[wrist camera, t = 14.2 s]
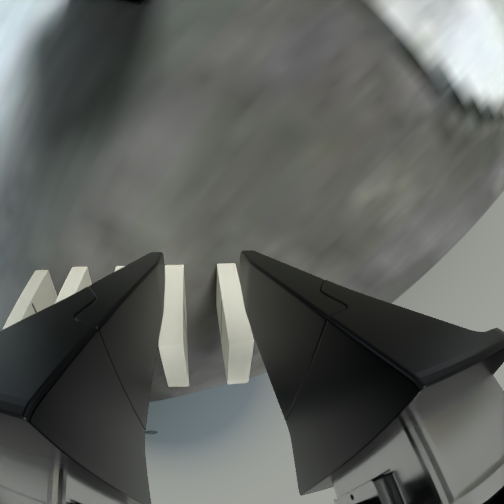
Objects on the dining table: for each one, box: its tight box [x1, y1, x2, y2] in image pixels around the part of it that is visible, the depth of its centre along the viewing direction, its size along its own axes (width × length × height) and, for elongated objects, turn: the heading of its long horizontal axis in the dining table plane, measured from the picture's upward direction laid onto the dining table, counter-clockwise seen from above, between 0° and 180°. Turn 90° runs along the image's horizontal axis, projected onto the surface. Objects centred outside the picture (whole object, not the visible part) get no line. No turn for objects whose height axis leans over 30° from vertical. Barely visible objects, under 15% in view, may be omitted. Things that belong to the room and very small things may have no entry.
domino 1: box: [2, 270, 58, 330], centre depth 20 cm, size 2×5×9 cm, turn 175°
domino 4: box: [216, 263, 254, 384], centre depth 23 cm, size 2×5×9 cm, turn 175°
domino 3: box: [158, 265, 189, 387], centre depth 22 cm, size 2×5×9 cm, turn 175°
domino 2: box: [54, 267, 92, 304], centre depth 20 cm, size 2×5×9 cm, turn 175°
